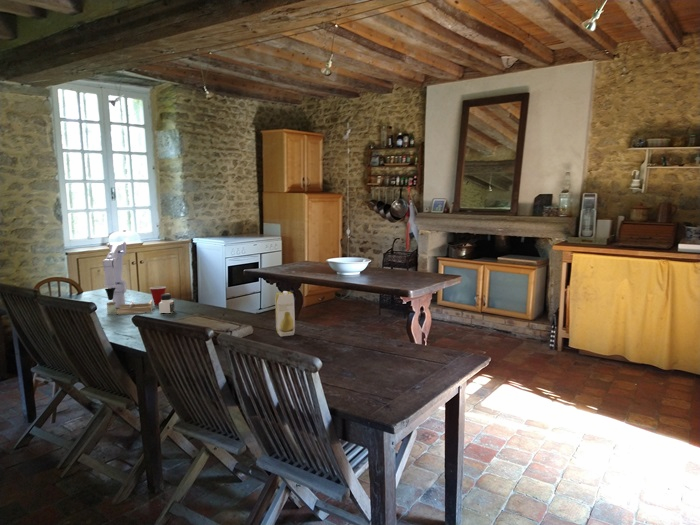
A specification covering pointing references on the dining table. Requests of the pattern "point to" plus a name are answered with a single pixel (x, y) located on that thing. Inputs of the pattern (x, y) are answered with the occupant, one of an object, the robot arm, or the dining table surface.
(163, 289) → the plastic cup
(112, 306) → the jar
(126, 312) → the wooden crate
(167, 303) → the medicine bottle
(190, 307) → the dining table surface
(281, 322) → the juice carton
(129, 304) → the pusher
